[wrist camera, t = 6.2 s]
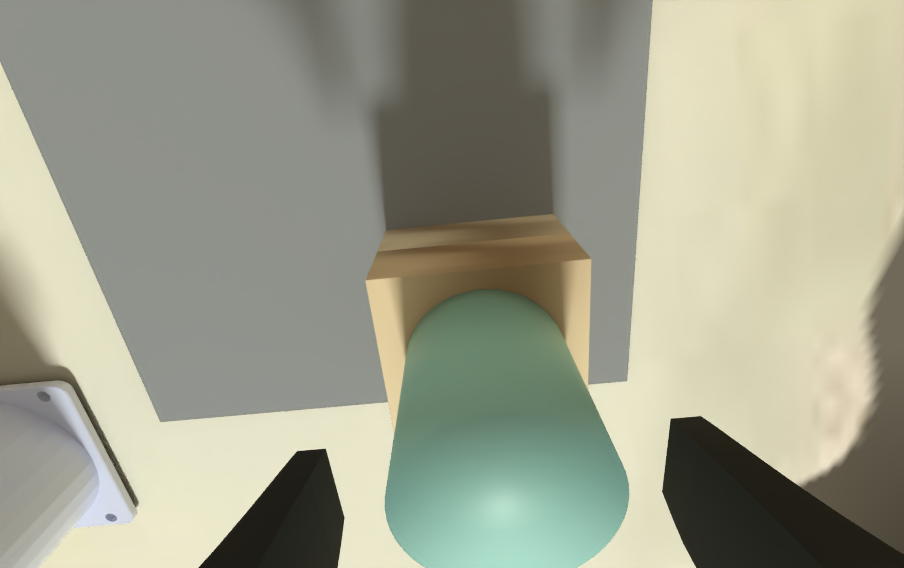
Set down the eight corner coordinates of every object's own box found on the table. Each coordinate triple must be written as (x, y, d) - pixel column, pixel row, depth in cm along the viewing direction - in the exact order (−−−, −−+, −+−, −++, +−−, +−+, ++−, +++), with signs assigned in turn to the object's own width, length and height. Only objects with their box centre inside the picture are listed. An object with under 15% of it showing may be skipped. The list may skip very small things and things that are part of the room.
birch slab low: (408, 370, 19) (403, 406, 17) (385, 230, 16) (377, 251, 14) (554, 357, 19) (568, 391, 16) (553, 213, 16) (569, 232, 14)
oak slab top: (403, 406, 17) (397, 452, 15) (377, 251, 14) (365, 280, 12) (568, 391, 16) (586, 436, 14) (569, 232, 14) (591, 259, 12)
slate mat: (164, 417, 20) (160, 421, 20) (-23, -11, 14) (-33, -13, 13) (624, 376, 19) (626, 380, 19) (654, -90, 13) (658, -93, 13)
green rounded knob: (419, 431, 14) (407, 596, 10) (393, 299, 12) (362, 425, 8) (567, 415, 14) (626, 575, 9) (562, 279, 12) (632, 395, 8)
